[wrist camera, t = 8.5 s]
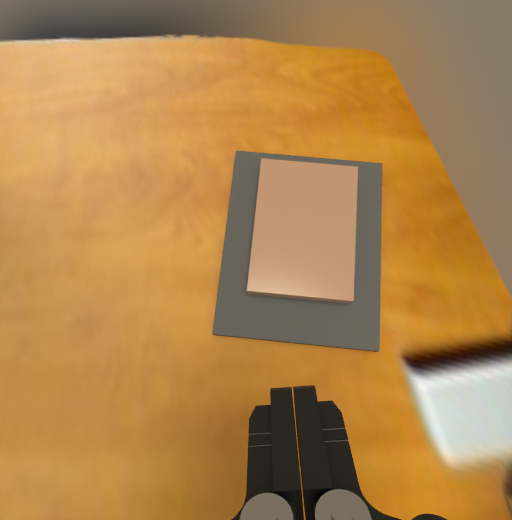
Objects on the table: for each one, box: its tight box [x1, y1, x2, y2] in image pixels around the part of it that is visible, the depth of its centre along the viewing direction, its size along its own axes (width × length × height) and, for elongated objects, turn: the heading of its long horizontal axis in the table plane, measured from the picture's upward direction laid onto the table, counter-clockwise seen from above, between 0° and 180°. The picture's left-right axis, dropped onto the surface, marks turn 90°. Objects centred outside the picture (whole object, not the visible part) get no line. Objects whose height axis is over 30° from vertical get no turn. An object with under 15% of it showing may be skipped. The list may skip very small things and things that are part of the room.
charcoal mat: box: [213, 151, 382, 351], centre depth 39 cm, size 20×16×1 cm
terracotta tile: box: [247, 158, 358, 304], centre depth 38 cm, size 2×10×14 cm
